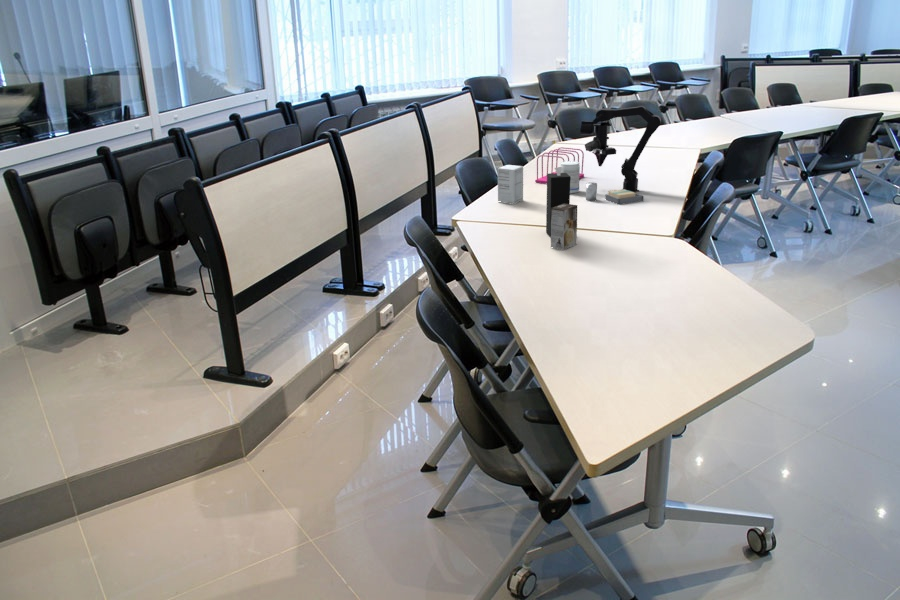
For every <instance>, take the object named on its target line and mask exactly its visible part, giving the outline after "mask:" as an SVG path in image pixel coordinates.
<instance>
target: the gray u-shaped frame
mask: <svg viewBox="0 0 900 600" xmlns="http://www.w3.org/2000/svg"><path fill="white" fill-rule="evenodd" d="M634 193H635V196H634V197H627V198H620V199H619V198H616V197H613V196H611V195H608V193H607V194H605V196H604V200H605V199H606V200H605V201H608V202H610V201H611V202H610V203H613V202H614V204H616V203H617V204H616V205H618V204H619V205H624V204H623V203H625V204H631V202H632V203H637V202H638V201H639V202H644V195H642V194H640V193H637V192H634Z"/></svg>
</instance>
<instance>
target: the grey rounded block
mask: <svg viewBox="0 0 900 600" xmlns="http://www.w3.org/2000/svg"><path fill="white" fill-rule="evenodd" d="M585 186H586V189H585V192H586V193H585V200H586V201H587V202H596V201H597V197H598V196H597V195H598V193H597V192H598V191H597V190H598V183H597V182H594V181H592V182H586V185H585ZM595 200H596V201H595Z"/></svg>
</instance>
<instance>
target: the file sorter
mask: <svg viewBox="0 0 900 600" xmlns="http://www.w3.org/2000/svg"><path fill="white" fill-rule="evenodd" d="M578 151H581V153H582V160H581V171H580V172H581V173H580V175H579V178H580V179H582V178H584V177H585V174H584V172H583V171H584V158H585V157H584V156H585V153H584V151H583V150H582V149H581V148H571V147H558V148H556V149H553V150H550V151H549V152H544V153H543V154H542V155H541V154H540V155H538V156H537V157H536V179H535V180H534V183H535V182H539V183H538V184H542V183H547V174H549V159H550V158H551V172H550V173H557V172H556V171H554V172H553V170H554V158H556V160H555V162H556V163H555V168H558V159H562V160H563V161H562V162H566V161H565V159H564V158H563V157H562V156H566V158H567V161H570V157H569V155H572V156H573V161H575V162H576V156H575V154H574V153H576V154H577V162H579V163H580V153H579V152H578ZM568 154H569V155H568ZM558 155H560V156H558ZM540 157H541V177H539V158H540ZM544 157H546V158H547V161H546V162H547V163H546V175H544V159H543V158H544Z"/></svg>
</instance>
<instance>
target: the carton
mask: <svg viewBox="0 0 900 600" xmlns="http://www.w3.org/2000/svg"><path fill="white" fill-rule="evenodd" d="M635 193H636V192H631V191H629V190H625V189H623V188H622V189H616V190H609V191H608V193H607V194H608V195H611V196H613V197H616V198H619V199H620V198H627V197H634V196H635Z"/></svg>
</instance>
